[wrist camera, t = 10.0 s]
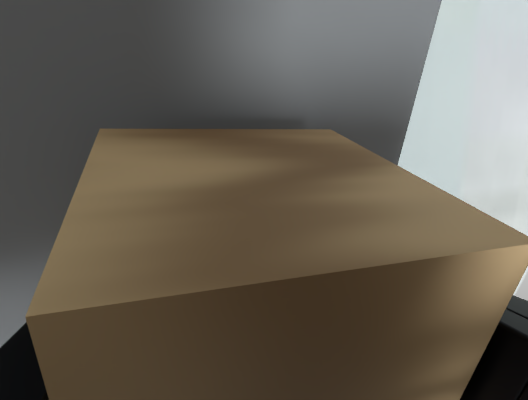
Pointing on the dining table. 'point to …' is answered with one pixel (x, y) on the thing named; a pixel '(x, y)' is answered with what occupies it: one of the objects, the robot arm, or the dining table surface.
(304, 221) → the oak block
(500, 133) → the dining table surface
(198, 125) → the slate pedestal
